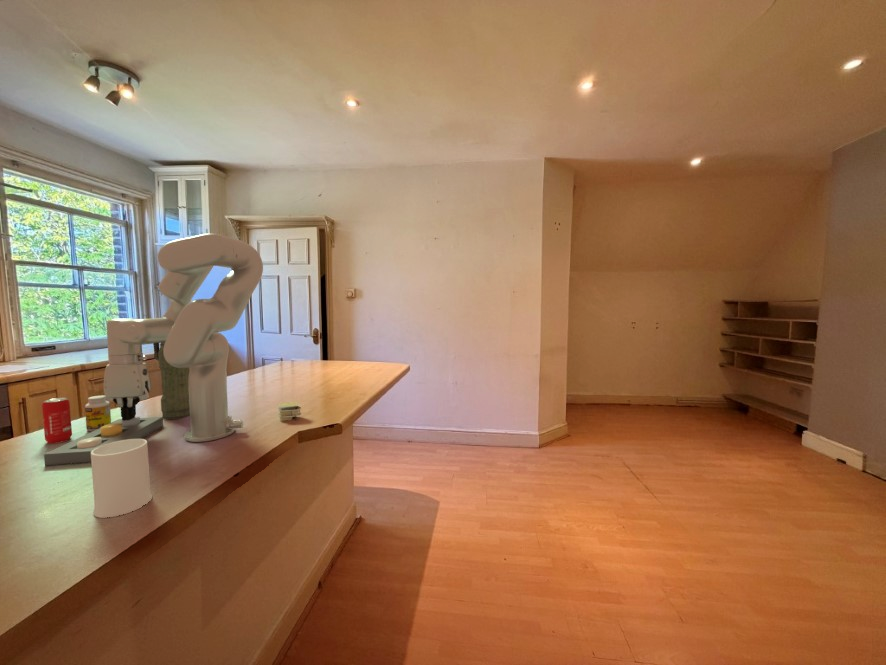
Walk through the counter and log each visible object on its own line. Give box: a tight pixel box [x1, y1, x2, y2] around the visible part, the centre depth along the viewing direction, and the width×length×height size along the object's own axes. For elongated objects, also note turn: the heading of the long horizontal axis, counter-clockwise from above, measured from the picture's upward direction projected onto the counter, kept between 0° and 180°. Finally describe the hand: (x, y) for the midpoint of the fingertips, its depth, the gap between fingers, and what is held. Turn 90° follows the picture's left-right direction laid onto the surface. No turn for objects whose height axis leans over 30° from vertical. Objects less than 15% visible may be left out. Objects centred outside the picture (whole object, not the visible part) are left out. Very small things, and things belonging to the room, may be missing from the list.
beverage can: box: [41, 397, 73, 445], centre depth 98 cm, size 5×5×12 cm
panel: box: [43, 416, 164, 467], centre depth 97 cm, size 12×26×3 cm, turn 13°
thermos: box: [153, 342, 191, 420], centre depth 121 cm, size 9×12×35 cm
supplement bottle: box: [84, 394, 112, 432], centre depth 108 cm, size 6×6×10 cm
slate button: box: [121, 416, 141, 426], centre depth 105 cm, size 4×4×3 cm
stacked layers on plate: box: [278, 401, 302, 422], centre depth 119 cm, size 10×9×6 cm
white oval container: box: [90, 438, 153, 519], centre depth 69 cm, size 12×8×12 cm
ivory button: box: [77, 437, 102, 449], centre depth 90 cm, size 4×4×3 cm
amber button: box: [100, 423, 122, 437], centre depth 97 cm, size 4×4×3 cm
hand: (128, 418), depth 105 cm, fingers closed
